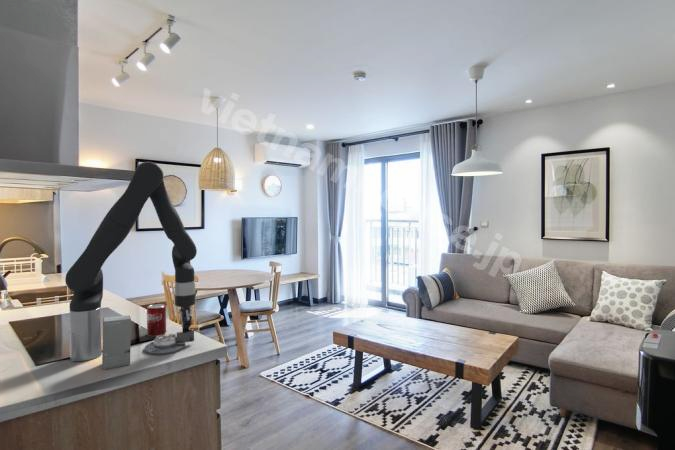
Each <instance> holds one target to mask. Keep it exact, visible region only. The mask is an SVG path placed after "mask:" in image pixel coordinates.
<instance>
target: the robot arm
mask: <svg viewBox="0 0 675 450" xmlns="http://www.w3.org/2000/svg"><path fill="white" fill-rule="evenodd" d="M148 199H150V201H151V203H152V204H153V207H154V210H155V213H156V215H157V218H158V220H159V222H160V225H161V227H162V229H163V231H164V233H165V235H166V238H167V239H169V240H170V241H172V243H173V246H172V249H171V257H172V263H173V268H174V305H175V306H176V307H177V308H180V309H179V310H178V311H179V312H178V313H179V318H180V319H179V321H180V325H181V327H182V330H181V332H185V331H189V329H190V327H191V325H192V324H191V323H192V318H193V317H192V309H191V306H194V305H195V304H196V284H195V268H194V267H193V266H192V265H191V261H192V260H193V259H195V258H196V256H197V252H198V250H197V246H196V244H195V242H194V241H193V239H192V238H191V236H190V235H189V234H188V231H187V230H186V228H185V226H184V224H183V222H182V219H181V217H180V215H179V213H178V211H177V210H176V208H175V205H174V204H173V201H172V200H171V198H170V196H169V194H168V191H167V189H166V186H165V181H164V171H163V169H162V168H161V166H159V164H157V163H156V162H152V161H143V162H141V163H139V164H138V165H137V166H136V168H135V170H134V174H133V175H132V178H131V180H130V182H129V184H128V186H127V188H126V189H125V191H124V192H123V193H122V195H121V196H120V197H119V198H118V199H117V200H116V202H115V203H114V204H113V205H112V206H111V208H110V209H109V210H108V212H107V213H106V215H105V216H104V217H103V219H102V221H101V222H100V224H99V226H98V227H97V229H96V230H95V232H94V234H93V236H92V237H91V239H90V240H89V243H88V244H87V246H86V248H85V250H83V252H82V253H81V254H80V256H79V257H78V258H77V260H76V261H75V262H74V263H73V264H72V266H71V267H70V268H69V269H68V270H67V273H66V275H65V279H64V280H65V284H66V286H67V288H68V289H69V290H71V291H73V295H72V298H71V300H70V302H69V330H68V333H69V335H68V336H69V358H70V361H71V363H74V362H85V361H89V360H90V361H91V360H93V359H96V358H99V357H100V356H102V342H103V337H102V300H103V296H104V273H103V270H102V267H103V265H104V264H105V262H106V261H107V259H108V258H109V257H110V256H111V255H112V254H113V253H114V252H115V251H116V249H118V248H119V246H120V245H121V244H122V243H123V242H124V240H125V239H126V238H127V237H128V236H129V233H130V232H131V230H132V228H133V227H134V225H135V224H136V221H137V220H138V219H139V216H140V215H141V213H142V210H143V208H144V206H145V204H146V202H147V201H148Z"/></svg>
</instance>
